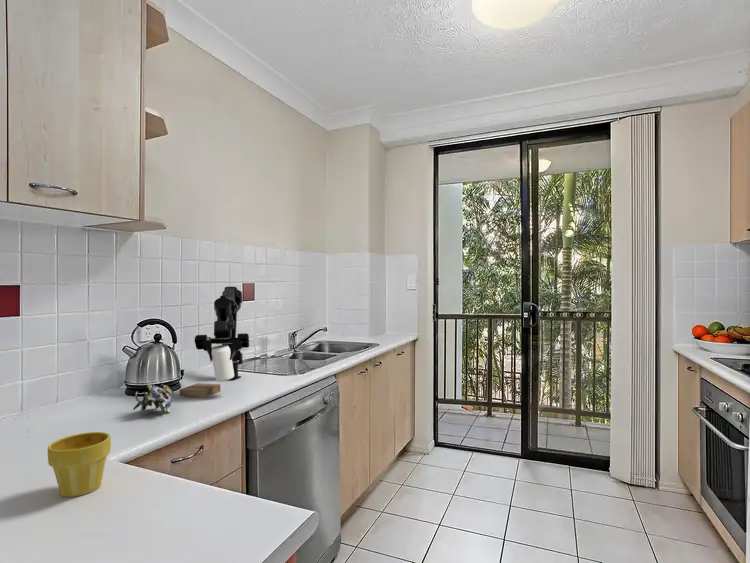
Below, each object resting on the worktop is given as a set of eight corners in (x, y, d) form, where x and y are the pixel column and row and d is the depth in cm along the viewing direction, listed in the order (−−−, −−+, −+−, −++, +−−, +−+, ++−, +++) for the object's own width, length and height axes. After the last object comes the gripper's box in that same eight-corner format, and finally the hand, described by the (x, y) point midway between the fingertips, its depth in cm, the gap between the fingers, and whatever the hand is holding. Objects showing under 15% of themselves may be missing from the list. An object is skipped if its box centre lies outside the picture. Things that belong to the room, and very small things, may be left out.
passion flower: (167, 430, 136) (174, 404, 131) (128, 429, 131) (134, 402, 126) (169, 402, 145) (176, 377, 140) (133, 400, 140) (139, 374, 135)
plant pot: (40, 507, 79) (40, 453, 79) (56, 483, 88) (55, 435, 88) (106, 495, 83) (106, 445, 83) (114, 474, 92) (114, 428, 93)
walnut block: (197, 391, 166) (197, 383, 166) (220, 392, 164) (220, 384, 164) (179, 397, 157) (179, 389, 157) (203, 399, 154) (203, 390, 154)
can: (228, 381, 152) (223, 347, 151) (212, 382, 153) (207, 349, 153) (238, 375, 158) (233, 343, 157) (222, 376, 160) (217, 345, 159)
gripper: (195, 312, 157) (189, 348, 146) (248, 311, 161) (246, 346, 150) (199, 331, 165) (194, 366, 154) (250, 330, 169) (248, 363, 158)
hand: (220, 360), depth 154 cm, fingers closed on can, 6 cm apart
